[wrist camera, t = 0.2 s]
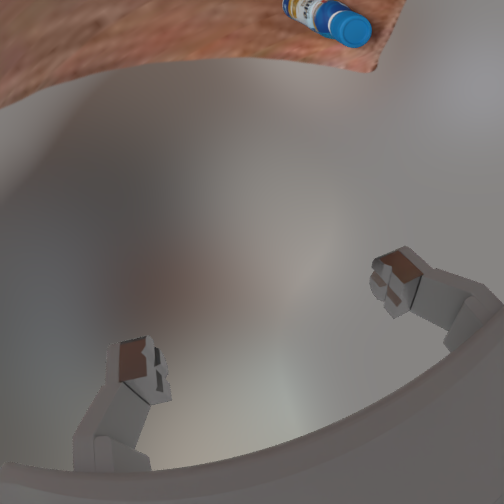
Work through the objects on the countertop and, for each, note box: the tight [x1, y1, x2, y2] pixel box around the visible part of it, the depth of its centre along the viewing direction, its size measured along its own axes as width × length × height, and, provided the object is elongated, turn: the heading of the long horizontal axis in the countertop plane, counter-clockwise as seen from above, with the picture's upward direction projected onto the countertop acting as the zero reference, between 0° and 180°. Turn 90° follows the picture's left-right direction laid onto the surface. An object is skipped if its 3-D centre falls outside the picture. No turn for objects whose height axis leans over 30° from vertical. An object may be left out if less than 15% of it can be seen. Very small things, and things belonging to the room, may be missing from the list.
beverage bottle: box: [283, 0, 372, 48], centre depth 34 cm, size 8×8×20 cm
